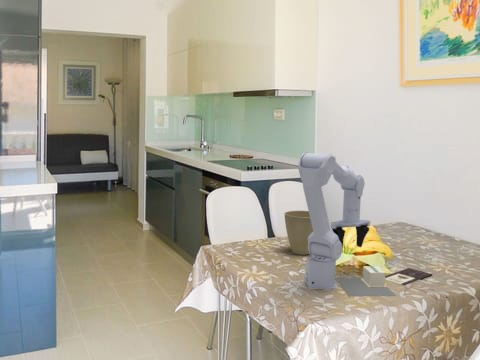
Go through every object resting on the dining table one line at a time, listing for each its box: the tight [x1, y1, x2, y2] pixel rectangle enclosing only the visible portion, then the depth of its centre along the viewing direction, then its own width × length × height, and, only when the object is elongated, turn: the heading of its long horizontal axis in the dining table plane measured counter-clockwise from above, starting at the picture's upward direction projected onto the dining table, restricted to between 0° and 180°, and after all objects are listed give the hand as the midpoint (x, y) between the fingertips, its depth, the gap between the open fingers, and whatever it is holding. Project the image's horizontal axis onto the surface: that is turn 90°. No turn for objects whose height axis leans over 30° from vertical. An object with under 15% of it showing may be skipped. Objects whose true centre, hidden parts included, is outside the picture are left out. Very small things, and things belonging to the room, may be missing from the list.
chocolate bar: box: [385, 267, 433, 286], centre depth 169 cm, size 9×1×18 cm
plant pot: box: [283, 210, 313, 256], centre depth 197 cm, size 15×15×16 cm
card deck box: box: [362, 265, 387, 286], centre depth 161 cm, size 7×5×5 cm
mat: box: [335, 277, 397, 298], centre depth 158 cm, size 15×17×1 cm
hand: (349, 247), depth 171 cm, fingers open, 7 cm apart
